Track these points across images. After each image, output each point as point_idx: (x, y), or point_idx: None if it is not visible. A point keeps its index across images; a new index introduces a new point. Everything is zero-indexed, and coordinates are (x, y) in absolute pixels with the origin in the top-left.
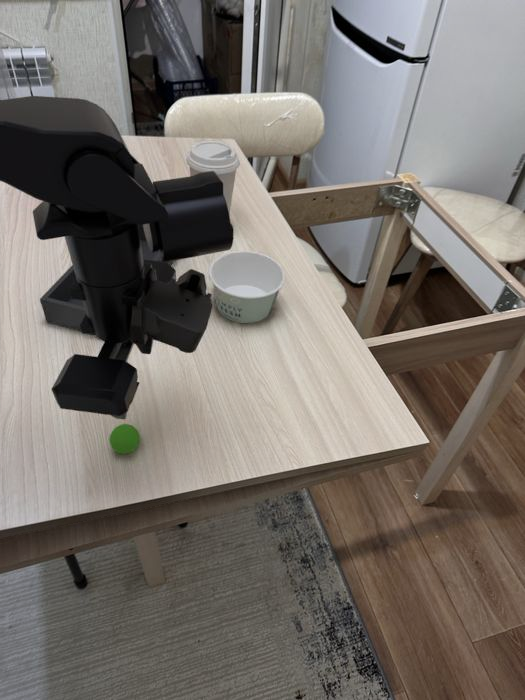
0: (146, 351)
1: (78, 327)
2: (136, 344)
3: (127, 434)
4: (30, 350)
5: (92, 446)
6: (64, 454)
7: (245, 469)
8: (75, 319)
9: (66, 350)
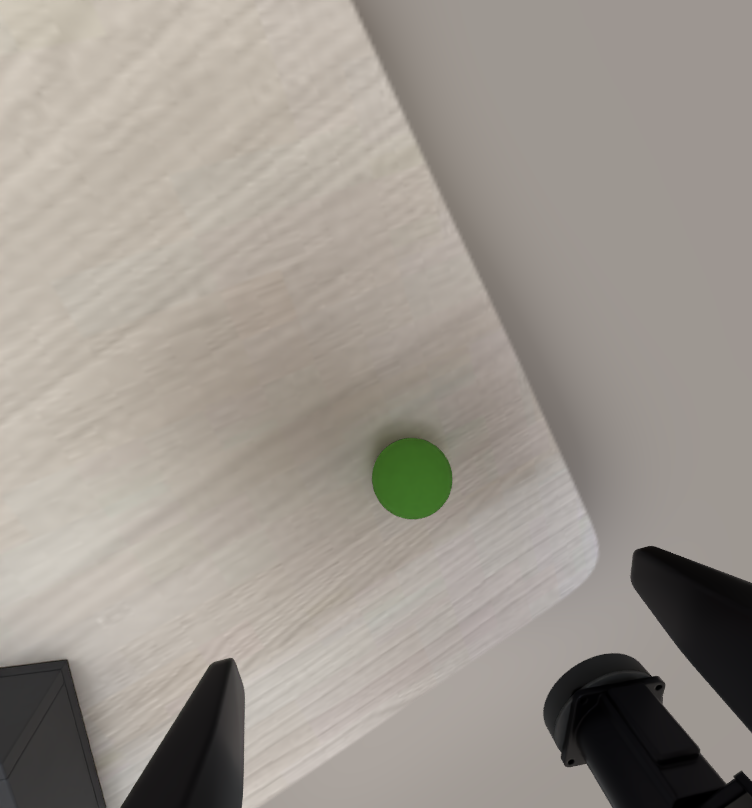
0: (236, 690)
1: (85, 766)
2: (241, 784)
3: (429, 480)
4: None
5: (423, 528)
6: (457, 566)
7: (372, 98)
8: (69, 806)
9: None
